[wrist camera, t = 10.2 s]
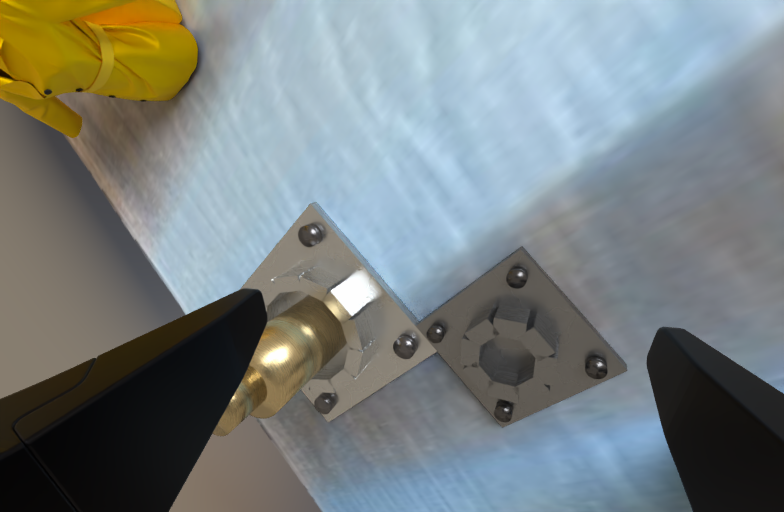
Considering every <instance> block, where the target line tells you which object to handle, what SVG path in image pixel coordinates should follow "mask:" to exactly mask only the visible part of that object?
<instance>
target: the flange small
mask: <svg viewBox="0 0 784 512" xmlns="http://www.w3.org/2000/svg"><path fill="white" fill-rule="evenodd" d="M416 327H417V328H418V330H419V331H420V332H421V333H422V334H423V335H424V337H425V338H426V339H427V340H428V341H429V342H430V344H431V345H432V346H433V347H434V348H435V349H436V351H437V352H438V353H439V354H440V355H441V356H442V358H443V359H444V360H445V361H446V362H447V363H448V365H449V366H450V367H451V368H452V369H453V370H454V372H455V373H456V374H457V375H458V376H459V377H460V379H461V380H462V381H463V382H464V383H465V384H466V386H467V387H468V388H469V389H470V390H471V391H472V393H473V394H474V395H475V396H476V397H477V398H478V400H479V401H480V402H481V403H482V404H483V405H484V407H485V408H486V409H487V410H488V411H489V412H490V414H491V415H492V416H493V417H494V418H495V419H496V421H497V422H498V423H499V424H500V425H501V426H502V427H505V426H507V425H509V424H512V423H514V422H516V421H518V420H520V419H523V418H525V417H527V416H529V415H531V414H534V413H536V412H538V411H540V410H542V409H544V408H547V407H549V406H551V405H553V404H555V403H558V402H560V401H562V400H564V399H566V398H569V397H571V396H573V395H575V394H577V393H580V392H582V391H584V390H586V389H588V388H591V387H593V386H595V385H597V384H599V383H602V382H604V381H606V380H608V379H610V378H613V377H615V376H617V375H619V374H621V373H624V372H626V371H627V365H626V363H625V362H624V361H623V360H622V359H621V358H620V357H619V355H618V354H617V353H616V352H615V351H614V350H613V349H612V347H611V346H610V345H609V344H608V343H607V342H606V341H605V340H604V338H603V337H602V336H601V335H600V334H599V333H598V332H597V330H596V329H595V328H594V327H593V326H592V325H591V324H590V323H589V321H588V320H587V319H586V318H585V317H584V316H583V315H582V314H581V312H580V311H579V310H578V309H577V308H576V307H575V306H574V304H573V303H572V302H571V301H570V300H569V299H568V298H567V297H566V295H565V294H564V293H563V292H562V291H561V290H560V289H559V287H558V286H557V285H556V284H555V283H554V282H553V281H552V280H551V278H550V277H549V276H548V275H547V274H546V273H545V272H544V271H543V269H542V268H541V267H540V266H539V265H538V264H537V263H536V261H535V260H534V259H533V258H532V257H531V256H530V255H529V254H528V252H527V251H526V250H525V249H524V248H523V247H520V248H519V249H518V250H516V251H515V252H514V253H512V254H511V255H509V256H508V257H507V258H505V259H504V260H503V261H501V262H500V263H499V264H497V265H496V266H494V267H493V268H492V269H490V270H489V271H488V272H486V273H485V274H484V275H482V276H481V277H479V278H478V279H477V280H475V281H474V282H473V283H471V284H470V285H469V286H467V287H466V288H465V289H463V290H462V291H460V292H459V293H458V294H456V295H455V296H454V297H452V298H451V299H450V300H448V301H447V302H445V303H444V304H443V305H441V306H440V307H439V308H437V309H436V310H435V311H433V312H432V313H430V314H429V315H428V316H426V317H425V318H424V319H422V320H421V321H420V322H419V323H418V324H417V325H416Z"/></svg>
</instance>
